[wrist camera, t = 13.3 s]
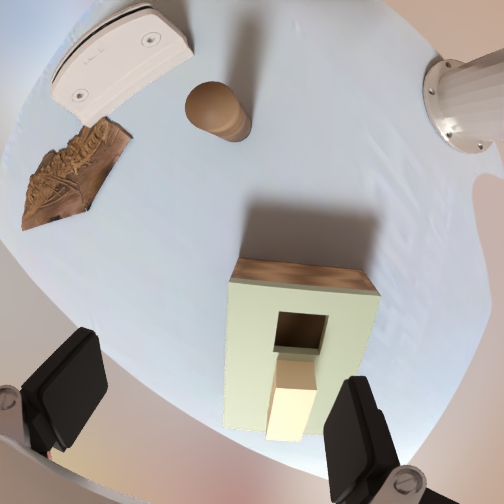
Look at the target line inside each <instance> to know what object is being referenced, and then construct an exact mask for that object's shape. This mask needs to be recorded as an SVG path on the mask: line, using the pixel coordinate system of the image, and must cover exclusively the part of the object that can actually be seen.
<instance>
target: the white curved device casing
mask: <svg viewBox="0 0 504 504" xmlns="http://www.w3.org/2000/svg"><path fill="white" fill-rule="evenodd" d="M182 32H183V31H182V30H181V29H180V28H178V27H177V26H176V25H175V24H174V23H173V22H172V21H171V20H170V19H168V18H167V17H166V16H165V15H164V14H163V13H162V12H160V11H159V10H158V9H157V8H156V7H154V6H153V5H152V4H150V3H148V2H141V3H138V4H135V5H133V6H130V7H128V8H125V9H123V10H121V11H118V12H117V13H115V14H113V15H111V16H109V17H107V18H106V19H104V20H102V21H101V22H99V23H98V24H97V25H95V26H94V27H92V28H91V29H90V30H89V31H87V32H86V33H85V34H84V35H83V36H82V37H81V38H79V39H78V40H77V41H76V43H75V44H74V45H73V46H72V47H71V48H70V49H69V50H68V52H67V53H66V54H65V56H64V57H63V58H62V60H61V61H60V63H59V64H58V66H57V68H56V70H55V72H54V74H53V76H52V78H51V82H50V86H51V88H50V92H51V95H52V98H53V99H54V100H55V101H56V102H58V103H59V104H60V105H62V106H63V107H65V108H66V109H67V110H69V111H70V112H71V113H73V114H74V115H76V116H77V117H78V118H79V120H80V121H81V122H82V124H84V125H85V126H87V127H89V128H91V127H92V126H93V125H94V124H95V123H97V122H98V120H100V119H101V118H102V117H106V116H108V115H109V114H110V113H111V112H112V111H114V110H115V109H116V108H117V107H119V106H120V105H121V104H122V103H124V102H125V101H126V100H128V99H129V98H130V97H132V96H133V95H134V94H136V93H137V92H138V91H140V90H141V89H143V88H144V87H145V86H147V85H148V84H150V83H151V82H153V81H154V80H156V79H157V78H159V77H160V76H162V75H163V74H165V73H166V72H168V71H169V70H171V69H172V68H174V67H176V66H177V65H179V64H180V63H182V62H184V61H185V60H187V59H189V58H191V57H192V56H194V53H193V51H192V50H191V49H190V47H189V46H188V42H187V37H186V36H185V35H184V34H183V33H182Z"/></svg>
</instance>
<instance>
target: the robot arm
mask: <svg viewBox="0 0 504 504" xmlns="http://www.w3.org/2000/svg"><path fill="white" fill-rule="evenodd" d="M429 92H430V93H429ZM423 95H424V103H425V107H426V110H427V113H428V116H429V118H430V121H431V123H432V124H433V126H434V128H435V130H436V131H437V132H438V134H439V135H440V137H441V138H442V139H443V140H444V141H445V142H446V143H447V144H448V145H450V146H451V147H452V148H454V149H456V150H458V151H460V152H463V153H467V154H476V153H481V152H483V151H485V150H486V149H487V148H488V147H489V146H490V145H491V144H492V142H493V141H504V48H503V49H500V50H498V51H495V52H492V53H490V54H487V55H485V56H483V57H480V58H478V59H475V60H473V61H471V62H468V63H466V64H465V63H463V62H460V61H458V60H452V59H449V60H443V61H440V62H438V63H436V64H435V65H433V66H432V67H431V68H430V70H429V71H428V73H427V75H426V77H425V81H424V87H423ZM21 388H22V389H21V390H20V391H19V390H18V389H17V388H15V387H14V386H11V385H2V386H0V504H152V503H149V502H146V501H142V500H140V499H136V498H134V497H131V496H128V495H125V494H122V493H120V492H117V491H115V490H112V489H109V488H107V487H105V486H102V485H100V484H97V483H95V482H93V481H90V480H89V479H86V478H84V477H82V476H80V475H77V474H76V473H73V472H72V471H70V470H68V469H66V468H64V467H62V466H60V465H58V464H56V463H55V462H53V461H52V457H51V452H50V450H51V448H52V447H54V448H56V449H58V450H60V451H61V452H65V450H66V448H70V447H71V446H72V445H73V443H74V441H75V440H76V438H77V437H78V435H79V434H80V432H81V430H82V429H83V427H84V426H85V424H86V422H87V421H88V419H89V418H90V416H91V415H92V413H93V412H94V410H95V409H96V407H97V405H98V404H99V403H100V401H101V399H102V398H103V396H104V395H105V393H106V392H107V388H108V383H107V379H106V374H105V370H104V365H103V360H102V355H101V349H100V343H99V338H98V336H97V335H96V334H95V332H94V331H93V330H90V329H87V328H84V327H80V328H78V329H77V330H76V331H75V332H74V333H73V334H72V335H71V336H70V337H69V338H68V339H67V340H66V341H65V342H64V343H63V344H62V345H61V346H60V347H59V348H58V349H57V350H56V351H55V352H54V353H53V354H52V355H51V356H50V357H49V358H48V359H47V360H46V361H45V362H44V363H43V364H42V365H41V366H40V367H39V368H38V369H37V370H36V371H35V372H34V373H33V374H32V375H31V376H30V377H29V378H28V379H27V381H26V382H25V383H24V384H23V385H22V386H21ZM323 435H324V443H325V451H326V459H327V468H328V477H329V486H330V494H331V495H330V496H331V501H332V503H336V504H459V503H457V502H455V501H453V500H451V499H449V498H447V497H445V496H443V495H440V494H438V493H436V492H434V491H432V490H430V489H429V488H427V487H426V485H427V481H426V477H425V475H424V473H423V472H422V471H421V470H420V469H418V468H417V467H414V466H411V465H402V466H400V463H399V460H398V456H397V453H396V450H395V447H394V444H393V441H392V438H391V435H390V432H389V429H388V426H387V423H386V420H385V417H384V414H383V412H382V411H381V410H380V409H378V408H377V405H376V402H375V399H374V397H373V394H372V391H371V388H370V385H369V383H368V380H367V378H366V377H365V376H350V377H349V379H345V380H344V382H343V384H342V386H341V388H340V391H339V393H338V395H337V398H336V400H335V402H334V404H333V407H332V409H331V411H330V413H329V415H328V417H327V419H326V421H325V424H324V427H323Z"/></svg>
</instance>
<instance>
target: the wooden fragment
mask: <svg viewBox="0 0 504 504" xmlns="http://www.w3.org/2000/svg"><path fill="white" fill-rule="evenodd" d="M132 138H133V137H131V136H130V135H129V134H128V133H127V132H126V131H125V130H124V129H123V128H122V127H121V126H120V125H119V124H117V123H111V122H110V121H108V120H107V119H106V117H102V118H101V119H100V120H98V122H97V123H95V124H94V125H93V126H92V127H91V128H89V127H87V126H84V127H83V128H82V129H81V130H80V132H79V135H78V136H76V137H74V138H73V139H72V140H71V141H69V142H68V143H67V144H68V146H67V149H66V150H62V151H60V152H58V153H53V152H50V153H48V154H47V155H46V156H45V157H43V160H42V162H41V164H40V166H39V167H38V169H37V171H36V172H35V174H34V175H32V176H30V179H29V180H30V183H29V185H28V190H27V192H26V196H27V197H26V201H25V206H24V207H25V210H24V214H23V217H22V226H21V227H22V231H25V230H27V229H31V228H34V227H37V226H40V225H43V224H46V223H50V222H53V221H56V220H59V219H63V218H66V217H69V216H72V215H75V214H79V213H83V212H86V210H85V207H84V206H86V209H87V211H89V209H90V206H91V203H92V202H93V200H94V198H95V196H96V194H97V193H98V191H99V189H100V188H101V186H102V184H103V182H104V181H105V179H106V177H107V176H108V174H109V172H110V171H111V169H112V167H113V166H114V164H115V163H116V161H117V160H118V158H119V157H120V155H121V153H122V152H123V150H124V148H125V147H126V145H127V143H128V142H129V140H130V139H132Z"/></svg>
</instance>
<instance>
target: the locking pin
mask: <svg viewBox="0 0 504 504" xmlns="http://www.w3.org/2000/svg"><path fill="white" fill-rule="evenodd" d="M185 112H186V116H187V118H188V119H189V121H190V122H191V123H192V124H193V125H194V126H196V127H198V128H200V129H202V130H205V131H207V132H209V133H211V134H214V135H216V136H218V137H221V138H223V139H225V140H227V141H230V142H240V141H242V140H244V139H245V138H247V137H248V135H249V134H250V132H251V127H252V125H251V121H250V119H249V117H248V115H247V114H246V112H245V111H244V109H243V107H242V106H241V104H240V103H239V101H238V99H237V98H236V96H235V95H234V93H233V92H232V90H231V89H230V88H229V87H228V86H226V85H225V84H223V83H220V82H214V81H211V82H205V83H202V84H200V85H198V86H197V87H195V88H194V89H193V90H192V91H191V92H190V94H189V95H188V97H187V99H186V103H185Z"/></svg>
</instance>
